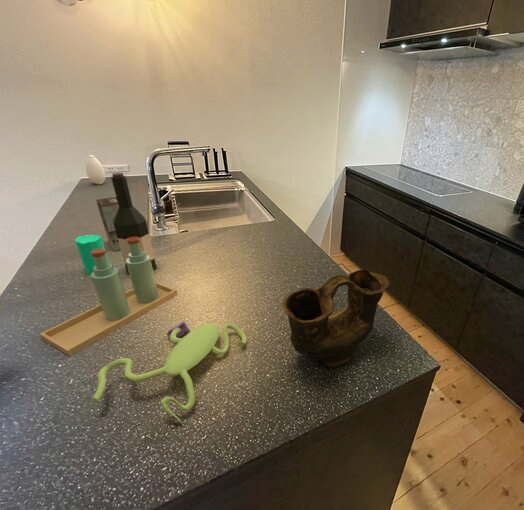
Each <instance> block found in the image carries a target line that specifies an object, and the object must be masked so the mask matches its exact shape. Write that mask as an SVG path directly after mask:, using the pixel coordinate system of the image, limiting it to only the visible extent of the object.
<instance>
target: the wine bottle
mask: <svg viewBox="0 0 524 510" xmlns="http://www.w3.org/2000/svg"><path fill="white" fill-rule="evenodd" d="M111 175H112V176H111V177H110V178H111V183H112V186H113V189H114V194H115V197H117V201H118V205H119V208H118V210H117V212H116V215H115V217H114V219H113V224H114V228H115V231H116V235H117V238H118V242H119V245H120V249H121V250H120V252H121V256H122V259H123V263H124V266H125V271H126V274H127V276H130V275H129V271H128V268H127V264H126V259H127V258H129V257H128V254H129V253H131V251H130V247H129V244H128V243H127V238H130V237H139V240H140V242H139V244H140V248H141V251H144V252H145V254H146V255H148V256H150V260H151V264H152V268H153V272H155V271H156V270H157V269H158V267H157V263H156V258H155V254H154V250H153V246H152V240H151V237H150V233H149V227H148V224H147V219H146V217H145V216H144V215H143V214H142V213H141V212H140V211H139V210H138V209H137V208H136V207H135V206H134V205H133V202H132V198H131V192H130V189H129V185H128V181H127V177H126V175H124V173H123V172H114V173H112V174H111Z"/></svg>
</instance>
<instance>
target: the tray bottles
mask: <svg viewBox="0 0 524 510" xmlns="http://www.w3.org/2000/svg"><path fill="white" fill-rule="evenodd" d="M139 242H140V240H139V237H130V238H127V243H128V244H129V247H130V251H131V253H129V254H128V257H129V258H127V259H126V264H127V268H128V271H129V275H128V276H129V279H130V283H131V285H132V289H134V293H135V297H136V300H137V302H138V303H142V304H145V303H150V302H153V301H155V300H156V299H158V297H159V294H158V290H157V285H156V282H157V281H156V277H155V273H154V271H153V268H152V264H151V260H150V256H148V255H146V254H145V252H144V251H141V248H140V244H139ZM90 253H91V256H92V257H93V258H94V261H95V264H96V266H95V267H94V268H93V271H94V272H92V273H91V274H90V278H91V281H92V284H93V287H94V291H95V293H96V296H97V299H98V302H99V305H101V308H102V311H103V313H104V316H105V319H107V320H109V321H115V320H119V319H122V318H124V317H126V316H127V315H128V314H129V313H130V308H129V305H128V302H127V298H126V295H125V292H126V291H125V288H124V285H123V281H122V278H121V275H120V272H119V269H118V268H117V267H114V266H113V264H112V263H110V262H109V263H108V262H107V259H106V255H107V252H106V249H102V248H100V249H94V250H92V251H91V252H90ZM105 254H106V255H105Z"/></svg>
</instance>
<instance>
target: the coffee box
mask: <svg viewBox="0 0 524 510" xmlns="http://www.w3.org/2000/svg"><path fill="white" fill-rule="evenodd" d="M95 201H96V205H97V208H98V212H99V214H100V218H101V221H102V225H103V227H104V231H105V234H106V238H107V242H108V244H109V246H110V247H111V249H112V251H113V252H117V251H121V249H120V245H119V242H118V238H117V235H116V231H115V228H114V224H113V219H114V217H115V215H116V212H117V210H118V208H119V205H118V201H117V197H116V196H114V197H106V198H98V199H96V200H95Z"/></svg>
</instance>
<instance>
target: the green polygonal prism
mask: <svg viewBox="0 0 524 510" xmlns="http://www.w3.org/2000/svg"><path fill="white" fill-rule="evenodd" d="M74 242H75V244H76V247H77V250H78V253H79V256H80V259H81V262H82V265H83V267H84V270H85V273H87V274H88V275H91V273H92V272H94V271H93V268H94V267H95V266H96V264H95V261H94V258H93V257H92V256H91V253H90V252H91V251H92V250H94V249H100V248H102V249H105V245H104V242H103V238H102V236H101V235H99V234H88V233H86V234H85V235H80V236H78V237H76V239H75V240H74ZM105 250H106V249H105ZM105 255H106V259H107V262H108V263H110V261H109V258H108V255H107V253H106V254H105Z"/></svg>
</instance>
